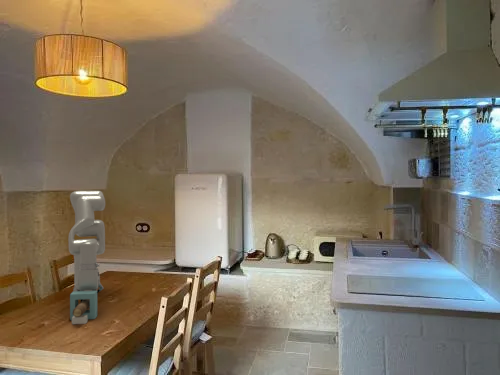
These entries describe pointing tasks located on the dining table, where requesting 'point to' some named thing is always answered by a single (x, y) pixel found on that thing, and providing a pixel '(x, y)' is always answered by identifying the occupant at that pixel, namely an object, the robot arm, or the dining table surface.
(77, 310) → the dowel
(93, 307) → the teal square frame
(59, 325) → the dining table surface
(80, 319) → the block
